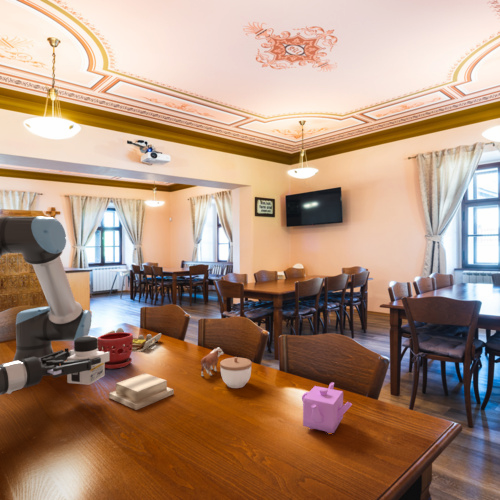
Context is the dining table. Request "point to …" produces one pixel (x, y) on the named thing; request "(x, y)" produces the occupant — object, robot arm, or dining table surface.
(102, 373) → the container
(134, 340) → the toy food set
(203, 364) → the bull figurine
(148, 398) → the plinth
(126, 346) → the plant pot
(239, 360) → the lidded jar
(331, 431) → the teapot
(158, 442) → the dining table surface
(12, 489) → the dining table surface
